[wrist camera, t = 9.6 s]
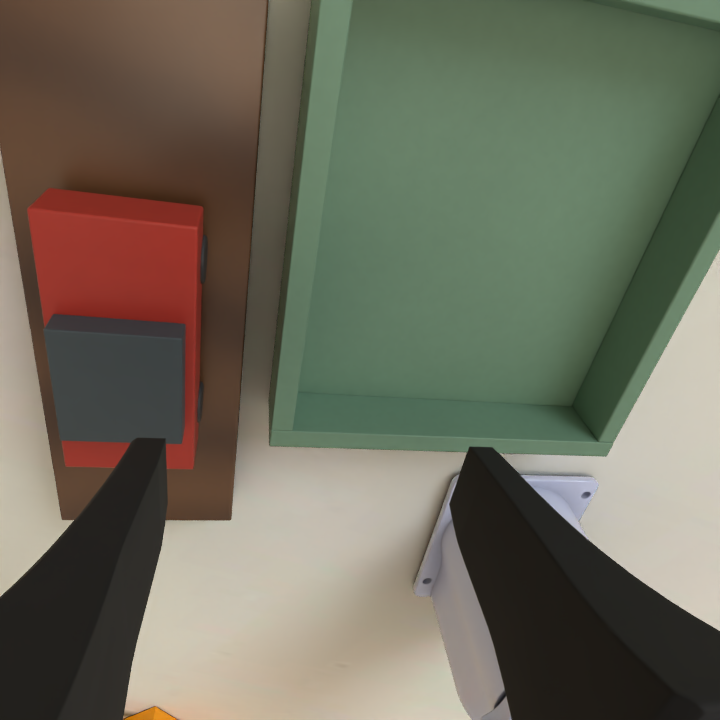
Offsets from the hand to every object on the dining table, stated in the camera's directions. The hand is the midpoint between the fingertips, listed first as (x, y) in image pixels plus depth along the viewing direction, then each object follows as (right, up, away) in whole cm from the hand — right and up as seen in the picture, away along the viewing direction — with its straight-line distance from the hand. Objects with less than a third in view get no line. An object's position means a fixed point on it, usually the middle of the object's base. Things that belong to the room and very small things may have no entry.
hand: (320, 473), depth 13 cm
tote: (+6, +7, +7) cm, 12 cm away
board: (-7, +5, +7) cm, 11 cm away
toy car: (-7, +4, +6) cm, 10 cm away
